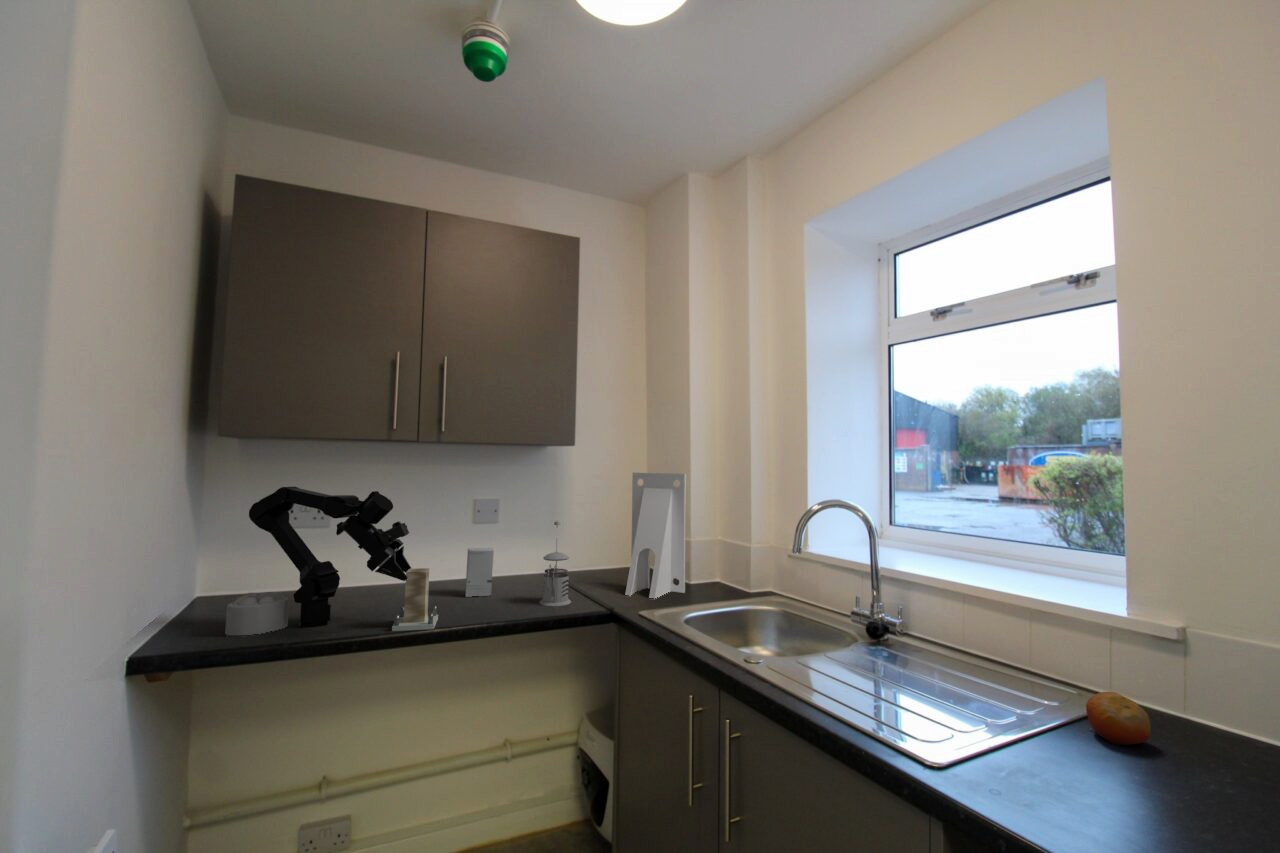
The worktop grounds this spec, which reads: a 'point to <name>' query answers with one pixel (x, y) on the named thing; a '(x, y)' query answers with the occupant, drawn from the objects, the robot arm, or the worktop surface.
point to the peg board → (428, 623)
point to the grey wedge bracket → (658, 533)
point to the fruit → (1118, 719)
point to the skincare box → (479, 572)
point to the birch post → (416, 595)
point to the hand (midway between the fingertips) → (409, 576)
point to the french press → (555, 581)
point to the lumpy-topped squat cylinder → (257, 614)
